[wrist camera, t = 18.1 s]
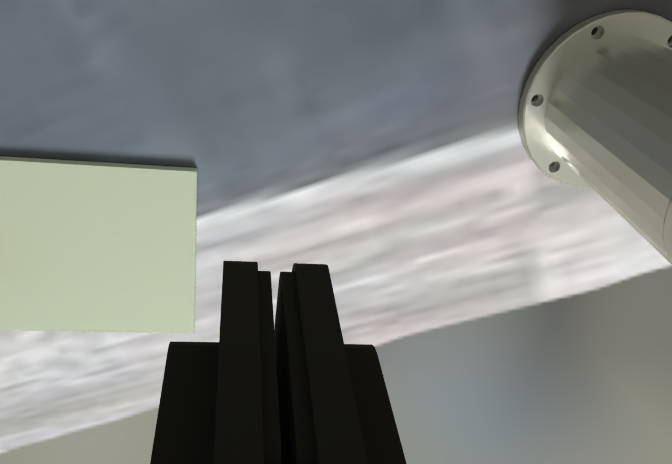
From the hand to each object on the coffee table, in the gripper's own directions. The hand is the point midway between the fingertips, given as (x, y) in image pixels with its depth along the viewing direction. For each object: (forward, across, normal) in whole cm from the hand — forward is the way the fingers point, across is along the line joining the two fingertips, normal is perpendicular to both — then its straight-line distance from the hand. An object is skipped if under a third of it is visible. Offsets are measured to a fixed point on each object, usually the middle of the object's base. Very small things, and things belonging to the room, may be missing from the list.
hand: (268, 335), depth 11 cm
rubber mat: (+32, +14, +19) cm, 40 cm away
